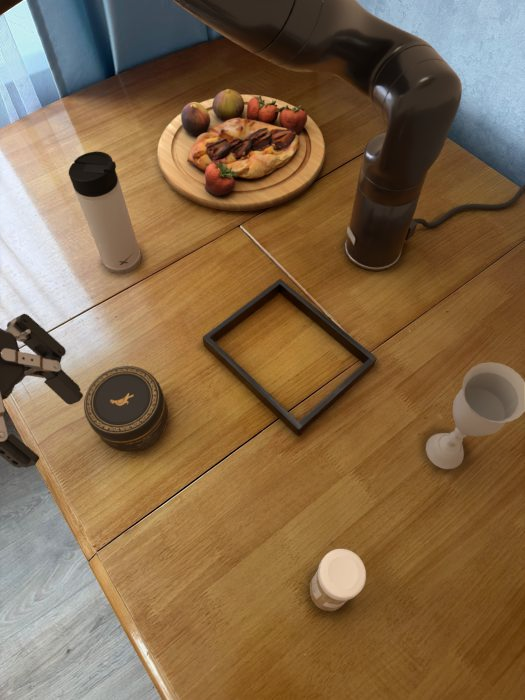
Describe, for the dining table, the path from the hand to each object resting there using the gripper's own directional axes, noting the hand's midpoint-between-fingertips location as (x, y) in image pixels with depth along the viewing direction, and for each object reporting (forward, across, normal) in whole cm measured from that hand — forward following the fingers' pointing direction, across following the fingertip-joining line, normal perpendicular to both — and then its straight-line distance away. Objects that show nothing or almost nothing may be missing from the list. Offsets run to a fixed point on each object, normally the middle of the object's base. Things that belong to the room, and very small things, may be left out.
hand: (56, 430), depth 54 cm
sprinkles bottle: (+34, 0, -12) cm, 36 cm away
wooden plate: (-2, +68, -2) cm, 68 cm away
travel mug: (-2, +40, +13) cm, 42 cm away
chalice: (+37, +20, -26) cm, 49 cm away
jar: (+12, +14, +8) cm, 20 cm away
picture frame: (+20, +29, -9) cm, 36 cm away
